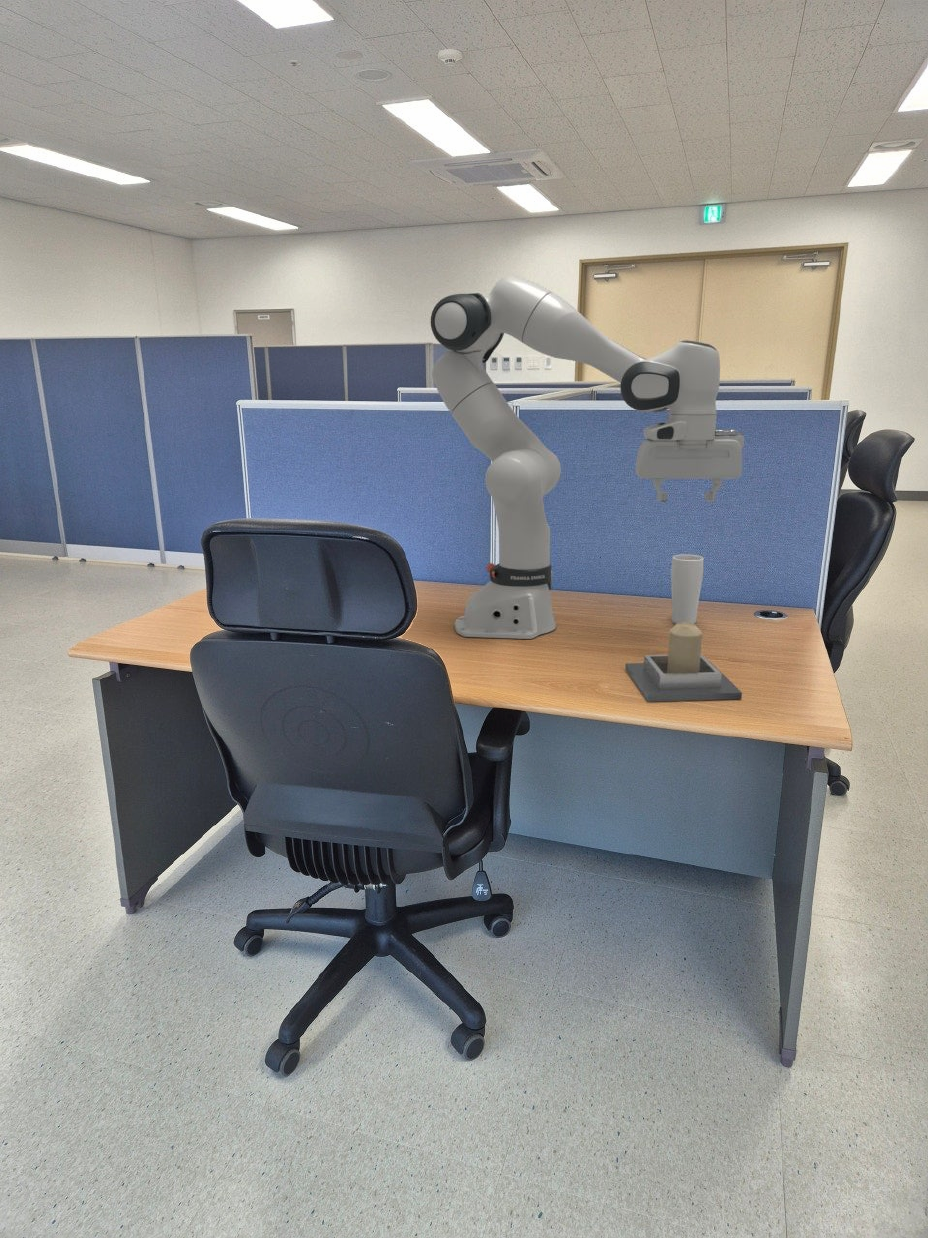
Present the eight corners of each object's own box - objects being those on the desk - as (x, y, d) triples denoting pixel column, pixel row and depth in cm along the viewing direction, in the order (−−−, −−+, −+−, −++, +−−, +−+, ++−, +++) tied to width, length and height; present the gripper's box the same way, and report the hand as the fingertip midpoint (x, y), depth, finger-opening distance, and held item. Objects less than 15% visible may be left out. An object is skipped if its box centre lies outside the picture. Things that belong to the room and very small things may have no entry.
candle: (693, 685, 136) (697, 630, 133) (662, 679, 139) (665, 625, 136) (702, 675, 140) (706, 622, 137) (672, 670, 143) (675, 617, 140)
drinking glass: (696, 618, 179) (700, 554, 174) (702, 627, 172) (706, 560, 168) (666, 618, 179) (669, 554, 175) (670, 627, 173) (674, 560, 169)
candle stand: (647, 702, 132) (648, 681, 131) (625, 669, 147) (626, 650, 146) (741, 699, 132) (743, 678, 131) (709, 667, 148) (711, 648, 147)
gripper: (739, 428, 154) (732, 499, 158) (635, 429, 154) (631, 499, 158) (751, 430, 148) (743, 503, 152) (643, 430, 148) (638, 504, 152)
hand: (685, 501), depth 155 cm, fingers open, 8 cm apart
